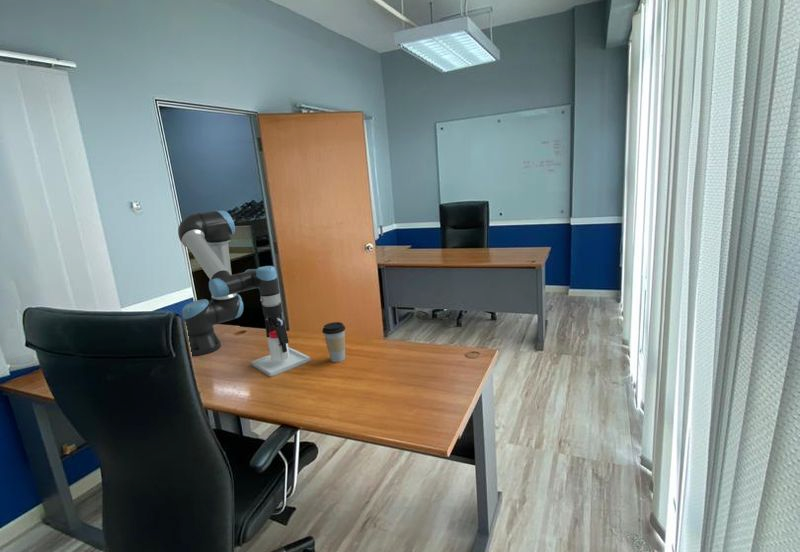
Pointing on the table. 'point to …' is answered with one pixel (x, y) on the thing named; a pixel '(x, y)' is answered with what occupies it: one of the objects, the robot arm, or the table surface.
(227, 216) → the robot arm
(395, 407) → the table surface
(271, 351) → the pill bottle
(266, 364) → the tray
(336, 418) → the table surface
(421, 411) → the table surface
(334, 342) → the coffee cup
